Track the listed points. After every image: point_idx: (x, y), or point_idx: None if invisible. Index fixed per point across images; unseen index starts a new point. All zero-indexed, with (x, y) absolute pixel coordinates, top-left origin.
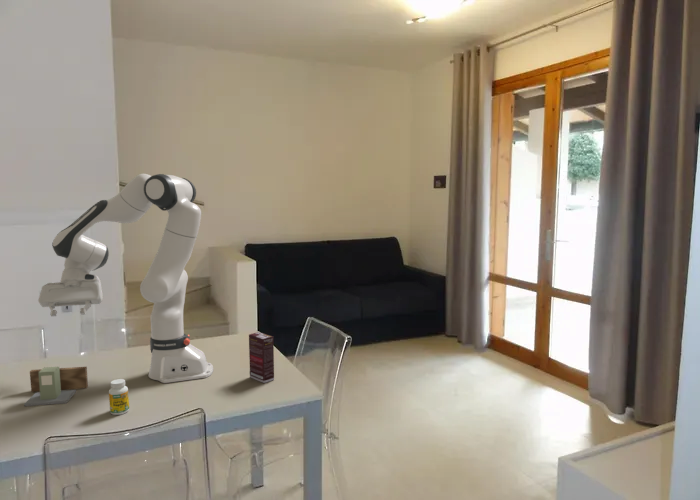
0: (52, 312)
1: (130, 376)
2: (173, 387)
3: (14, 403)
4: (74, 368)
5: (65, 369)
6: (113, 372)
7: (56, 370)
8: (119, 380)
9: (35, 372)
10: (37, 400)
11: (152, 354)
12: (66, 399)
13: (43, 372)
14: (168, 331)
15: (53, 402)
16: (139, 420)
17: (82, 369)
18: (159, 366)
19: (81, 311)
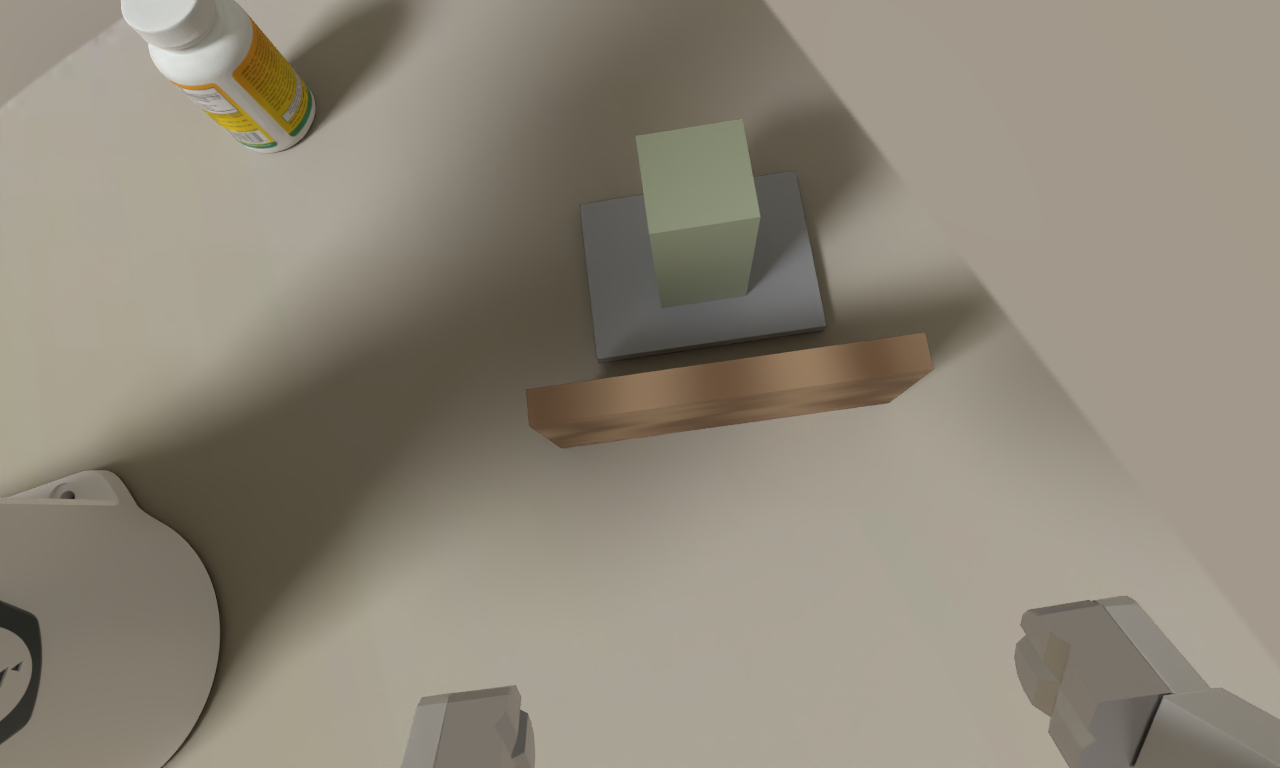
0: (1111, 628)
1: (341, 616)
2: (53, 407)
3: (875, 213)
4: (605, 386)
5: (667, 370)
6: None
7: (642, 184)
8: (152, 8)
9: (881, 341)
10: None
11: (35, 598)
12: (585, 219)
13: (707, 125)
14: None
15: None
16: None
17: (547, 389)
18: (47, 510)
19: (478, 699)
